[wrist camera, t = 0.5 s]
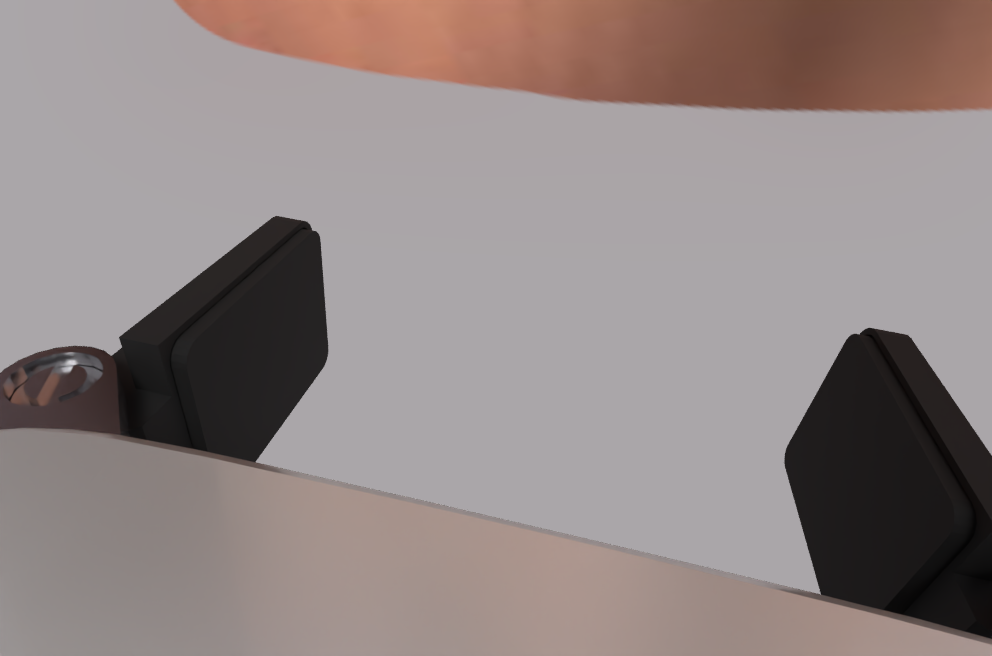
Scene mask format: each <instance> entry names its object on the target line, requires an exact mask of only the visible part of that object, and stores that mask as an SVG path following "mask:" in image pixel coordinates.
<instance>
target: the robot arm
mask: <svg viewBox="0 0 992 656" xmlns="http://www.w3.org/2000/svg"><path fill="white" fill-rule="evenodd" d="M119 338H120V342H121V345H122V348H121V349H120V350H118V352H116V353H115V354H114V355H112V356H111V355H109V354H108V353H107V352H105V351H104V350H100V349H97V348H94V347H87V346H68V347H58V348H53V349H50V350H45V351H41V352H38V353H35V354H33V355H30V356H28V357H25V358H23V359H21V360H18V361H17V362H15V363H14V364H12V365H10V366H9V367H7V368H5V369H4V370H3V371H2V372H1V373H0V656H992V456H991V454H990V453H989V451H988V450H987V448H986V447H985V445H984V444H983V442H982V441H981V440H980V438H979V437H978V435H977V434H976V432H975V431H974V429H973V428H972V426H971V425H970V423H969V422H968V421H967V419H966V418H965V416H964V415H963V413H962V412H961V410H960V409H959V407H958V406H957V405H956V403H955V402H954V400H953V399H952V397H951V396H950V394H949V393H948V391H947V390H946V388H945V387H944V386H943V385H942V383H941V381H940V380H939V378H938V377H937V376H936V374H935V372H934V371H933V370H932V368H931V367H930V365H929V364H928V362H927V361H926V359H925V358H924V356H923V355H922V353H921V352H920V351H919V349H918V348H917V346H916V345H915V343H914V342H913V340H912V339H911V338H910V337H909V336H908V335H905V334H899V333H895V332H889V331H884V330H878V329H873V328H867V329H865V330H864V331H862V332H861V333H860V335H859V334H853V335H851V336H849V337H848V339H847V340H846V342H845V343H844V345H843V347H842V349H841V351H840V352H839V354H838V356H837V358H836V360H835V361H834V363H833V365H832V367H831V369H830V370H829V372H828V374H827V376H826V378H825V379H824V381H823V383H822V385H821V387H820V388H819V390H818V392H817V394H816V396H815V397H814V399H813V401H812V403H811V405H810V406H809V408H808V410H807V412H806V413H805V415H804V417H803V419H802V421H801V422H800V425H799V426H798V428H797V430H796V431H795V434H794V435H793V437H792V439H791V440H790V442H789V444H788V446H787V448H786V453H785V468H786V472H787V475H788V479H789V483H790V486H791V490H792V493H793V497H794V500H795V504H796V507H797V511H798V514H799V518H800V521H801V525H802V529H803V532H804V535H805V539H806V542H807V546H808V550H809V553H810V557H811V560H812V563H813V567H814V571H815V574H816V578H817V582H818V585H819V589H820V592H821V595H820V594H816V593H812V592H807V591H804V590H800V589H795V588H791V587H787V586H782V585H779V584H774V583H770V582H766V581H762V580H758V579H754V578H749V577H745V576H741V575H737V574H733V573H729V572H724V571H720V570H716V569H711V568H708V567H704V566H699V565H695V564H691V563H687V562H682V561H678V560H674V559H670V558H666V557H662V556H658V555H653V554H649V553H645V552H640V551H637V550H632V549H628V548H624V547H620V546H615V545H611V544H607V543H603V542H598V541H594V540H589V539H586V538H581V537H577V536H573V535H569V534H564V533H560V532H556V531H552V530H547V529H542V528H539V527H534V526H530V525H526V524H521V523H517V522H513V521H509V520H504V519H500V518H496V517H492V516H487V515H483V514H479V513H474V512H470V511H466V510H461V509H457V508H453V507H448V506H444V505H440V504H435V503H431V502H427V501H423V500H418V499H414V498H410V497H405V496H401V495H396V494H392V493H387V492H383V491H379V490H374V489H370V488H366V487H361V486H357V485H353V484H348V483H344V482H339V481H335V480H330V479H326V478H322V477H317V476H313V475H309V474H304V473H300V472H296V471H291V470H287V469H283V468H278V467H274V466H269V465H265V464H260V463H256V460H257V459H258V458H259V456H260V455H261V453H262V452H263V451H264V449H265V448H266V446H267V445H268V443H269V442H270V441H271V439H272V438H273V437H274V435H275V434H276V432H277V431H278V430H279V428H280V427H281V426H282V424H283V423H284V421H285V420H286V419H287V417H288V416H289V414H290V413H291V412H292V410H293V409H294V407H295V406H296V405H297V403H298V402H299V401H300V399H301V398H302V396H303V395H304V394H305V392H306V391H307V390H308V388H309V387H310V385H311V384H312V383H313V381H314V380H315V378H316V377H317V376H318V374H319V373H320V371H321V370H322V369H323V367H324V365H325V363H326V360H327V356H328V338H327V325H326V311H325V297H324V283H323V270H322V256H321V242H320V236H319V234H318V233H317V232H316V231H312V228H311V226H310V224H309V223H308V222H306V221H301V220H295V219H290V218H285V217H279V216H275V217H273V218H271V219H270V220H269V221H268V222H266V223H265V224H264V225H263V226H261V227H260V228H259V229H257V230H256V231H255V232H254V233H252V234H251V235H250V236H248V237H247V238H246V239H245V240H243V241H242V242H241V243H239V244H238V245H237V246H236V247H234V248H233V249H232V250H230V251H229V252H228V253H227V254H225V255H224V256H223V257H222V258H220V259H219V260H218V261H216V262H215V263H214V264H213V265H211V266H210V267H209V268H207V269H206V270H205V271H203V272H202V273H201V274H200V275H198V276H197V277H196V278H195V279H193V280H192V281H191V282H190V283H188V284H187V285H186V286H184V287H183V288H182V289H180V290H179V291H178V292H177V293H176V294H174V295H173V296H171V297H170V298H169V299H168V300H166V301H165V302H164V303H163V304H161V305H160V306H159V307H157V308H156V309H155V310H154V311H152V312H151V313H150V314H148V315H147V316H146V317H144V318H143V319H142V320H141V321H139V322H138V323H137V324H135V325H134V326H133V327H132V328H130V329H129V330H128V331H127V332H125V333H124V334H123V335H122V336H120V337H119Z"/></svg>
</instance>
